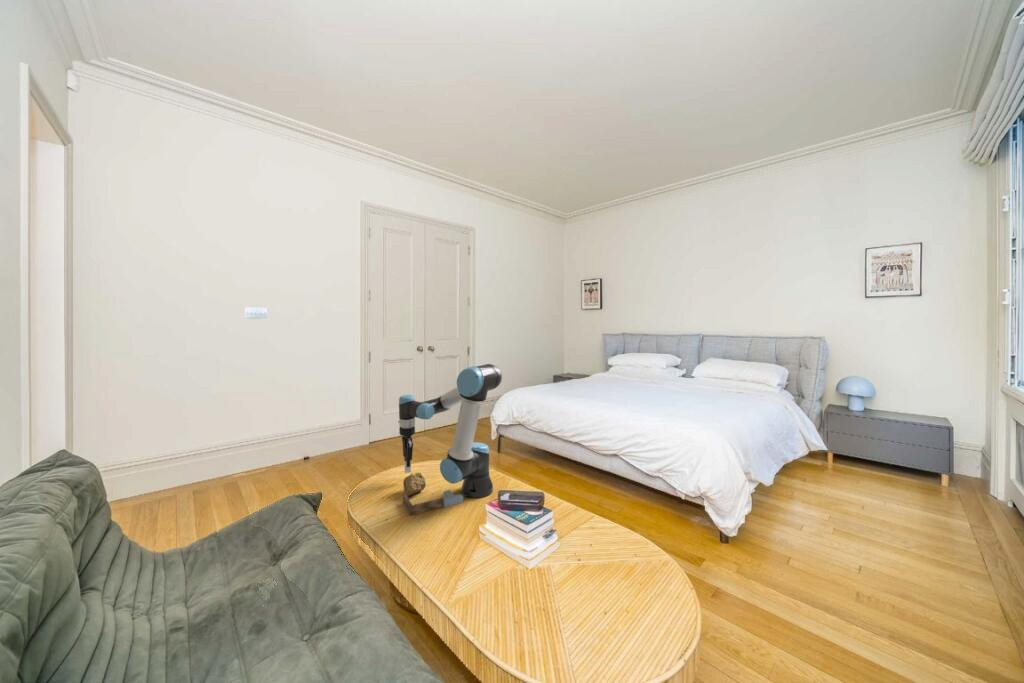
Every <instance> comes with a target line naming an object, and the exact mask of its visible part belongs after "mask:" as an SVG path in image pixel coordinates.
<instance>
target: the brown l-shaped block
mask: <svg viewBox="0 0 1024 683" xmlns="http://www.w3.org/2000/svg"><path fill="white" fill-rule="evenodd" d="M443 498H444V497H440V498H436V499H433V500H432V499H431V500H428V501H424V502H420V503H417V504H413V503H412V502H411V501H410V499H409V496H406V494H404V495H402V504H403V506H404V508H405V509H406V511H407V513H408V515H409V516H415V515H417V514H422V513H425V512H429V511H432V510H436V509H437V510H438V509H440V508H444V499H443Z"/></svg>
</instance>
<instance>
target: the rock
mask: <svg viewBox="0 0 1024 683" xmlns="http://www.w3.org/2000/svg"><path fill="white" fill-rule="evenodd" d="M402 485H403V491H404V495H406V496H407V497H410V496H412V495H414V494H416V493H421V492H422V491H423V490H424V489H425V488H426V485H427V483H426V478H425V477H424V476H423V474H422V473H421V472H416V473H412V472H411V473H410V474H409V475H408V476H406V477H405V478H404V479H403V484H402Z"/></svg>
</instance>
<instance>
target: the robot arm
mask: <svg viewBox="0 0 1024 683" xmlns="http://www.w3.org/2000/svg"><path fill="white" fill-rule="evenodd" d="M502 379H503V375H502V372H501V370H500V368H499V367H498V366H496V365H494V364H492V363H486V364H482V365H477V366H470V367H467V368H464V369H463V370H461V371H460V372H459V374H458V375H457V378H456V387H454V388H452V389H451V390H449V391H447V392H446V393H444V394H442V395H440V396H438V397H436V398H433V399H428V400H424V401H416V399H415V397H416V396H414V395H413V394H403V395H401V396H400V397H399V398H398V416H399V417H398V418H399V420H398V424H399V429H398V430H399V432H398V433H399V435H400V436H401V441H402V454H403V455H402V456H403V459H404V460H403V461H404V473H405V474H408V473H412V468H411V467H412V464H411V463H412V462H411V461H412V460H413V449H414V443H413V437H412V435H413V436H414V435H415V434H416V418H418V419H421V420H430V419H432V417H433V416H434V415H437V414H440V413H444V412H445V413H446V411H450V410H451V408H453V407H454V406H457V405H458V404H460V407H459V413H458V418H457V424H456V426H455V427H456V428H455V432H454V438H453V442H452V445H451V446H450V447H449V448H448V449H447V454H446V455H447V456H446V457H445V458H443V459H442V460H440V464H439V470H440V473H441V476H442V478H443V479H444V480H445V481H446V482H448V483H450V484H457V483H460V482H462V485H461V494H462V495H463V496H465V497H467V498H473V499H474V498H475V499H477V498H484V497H488V496H490V495H491V494H492V493H493V492H494V485H493V482H492V478H491V475H490V447H489V445H487V444H486V443H483V442H474V438H475V435H476V429H477V426H478V422H479V421H478V420H479V417H480V412H481V407H482V403H484V402H485V401H486V400H487V396H488V392H489V391H492V390H494V389H496V388H498V387H499V386H500V384H501V383H502Z"/></svg>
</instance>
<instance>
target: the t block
mask: <svg viewBox="0 0 1024 683" xmlns="http://www.w3.org/2000/svg"><path fill="white" fill-rule="evenodd" d="M442 498H443V499H444V507H443V508H448V507H452V506H456V505H460V504H462V503H463V504H464V495H463V494H462V493H457V494H454V493H453V492H452V491H451V490H450V489H449V490H443V497H442Z"/></svg>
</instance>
